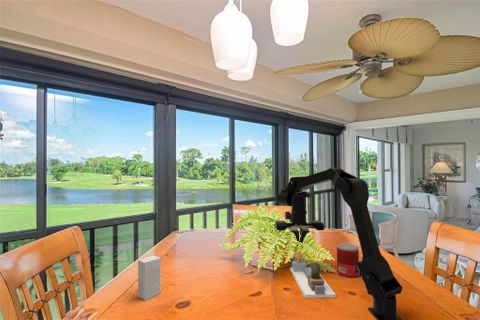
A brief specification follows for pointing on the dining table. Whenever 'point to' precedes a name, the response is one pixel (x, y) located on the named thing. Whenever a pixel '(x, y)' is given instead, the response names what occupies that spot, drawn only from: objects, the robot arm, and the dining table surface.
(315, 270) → the carriage
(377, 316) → the robot arm
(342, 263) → the canned food
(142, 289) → the skincare box
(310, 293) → the plate
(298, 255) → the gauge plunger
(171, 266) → the dining table surface
